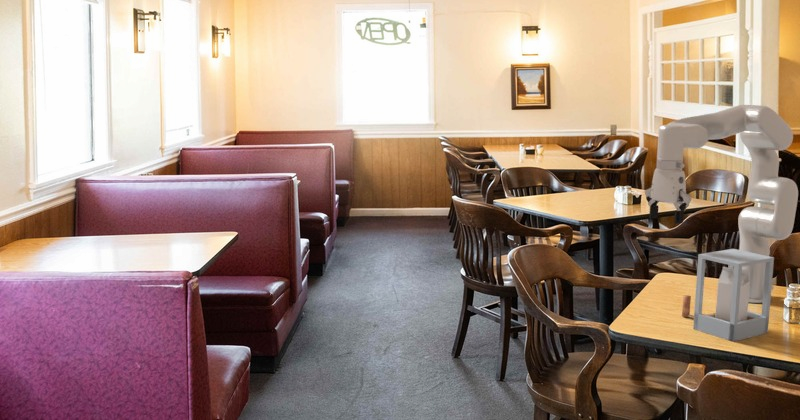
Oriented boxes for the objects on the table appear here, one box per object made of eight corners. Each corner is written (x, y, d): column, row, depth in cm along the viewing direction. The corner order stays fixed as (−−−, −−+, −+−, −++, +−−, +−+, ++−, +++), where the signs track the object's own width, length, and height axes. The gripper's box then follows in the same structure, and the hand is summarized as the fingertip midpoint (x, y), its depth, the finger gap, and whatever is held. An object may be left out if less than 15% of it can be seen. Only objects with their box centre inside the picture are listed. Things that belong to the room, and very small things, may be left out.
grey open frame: (727, 320, 264) (733, 248, 260) (767, 333, 252) (774, 257, 248) (693, 328, 256) (698, 254, 252) (732, 341, 244) (739, 263, 240)
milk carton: (722, 325, 259) (726, 264, 256) (746, 329, 254) (751, 268, 251) (714, 330, 253) (718, 268, 250) (738, 335, 249) (743, 272, 246)
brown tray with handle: (695, 312, 272) (696, 292, 270) (757, 331, 252) (759, 310, 251) (670, 317, 266) (671, 297, 264) (733, 337, 246) (734, 316, 245)
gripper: (700, 168, 253) (696, 224, 256) (655, 162, 268) (652, 215, 270) (683, 169, 249) (679, 226, 252) (639, 163, 264) (635, 217, 267)
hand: (665, 220), depth 261 cm, fingers open, 9 cm apart
